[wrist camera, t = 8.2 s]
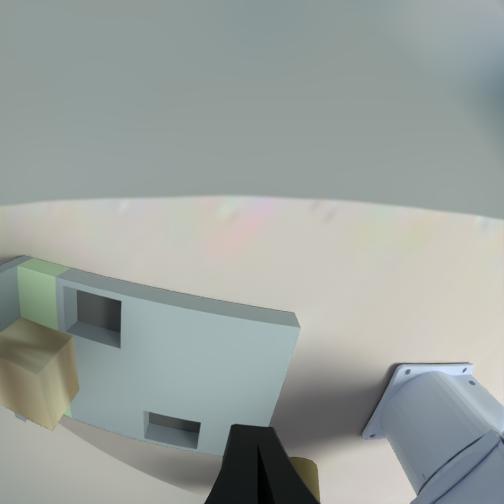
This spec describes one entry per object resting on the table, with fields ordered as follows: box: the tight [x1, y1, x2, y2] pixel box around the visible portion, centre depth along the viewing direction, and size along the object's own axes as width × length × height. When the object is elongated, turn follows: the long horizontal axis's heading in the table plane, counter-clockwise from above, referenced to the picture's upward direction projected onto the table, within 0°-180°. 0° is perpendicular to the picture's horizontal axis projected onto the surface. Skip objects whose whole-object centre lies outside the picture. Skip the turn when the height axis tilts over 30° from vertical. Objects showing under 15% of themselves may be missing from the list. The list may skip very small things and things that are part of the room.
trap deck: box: [0, 255, 301, 456], centre depth 16 cm, size 19×12×4 cm, turn 79°
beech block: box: [0, 317, 80, 431], centre depth 14 cm, size 5×5×5 cm
